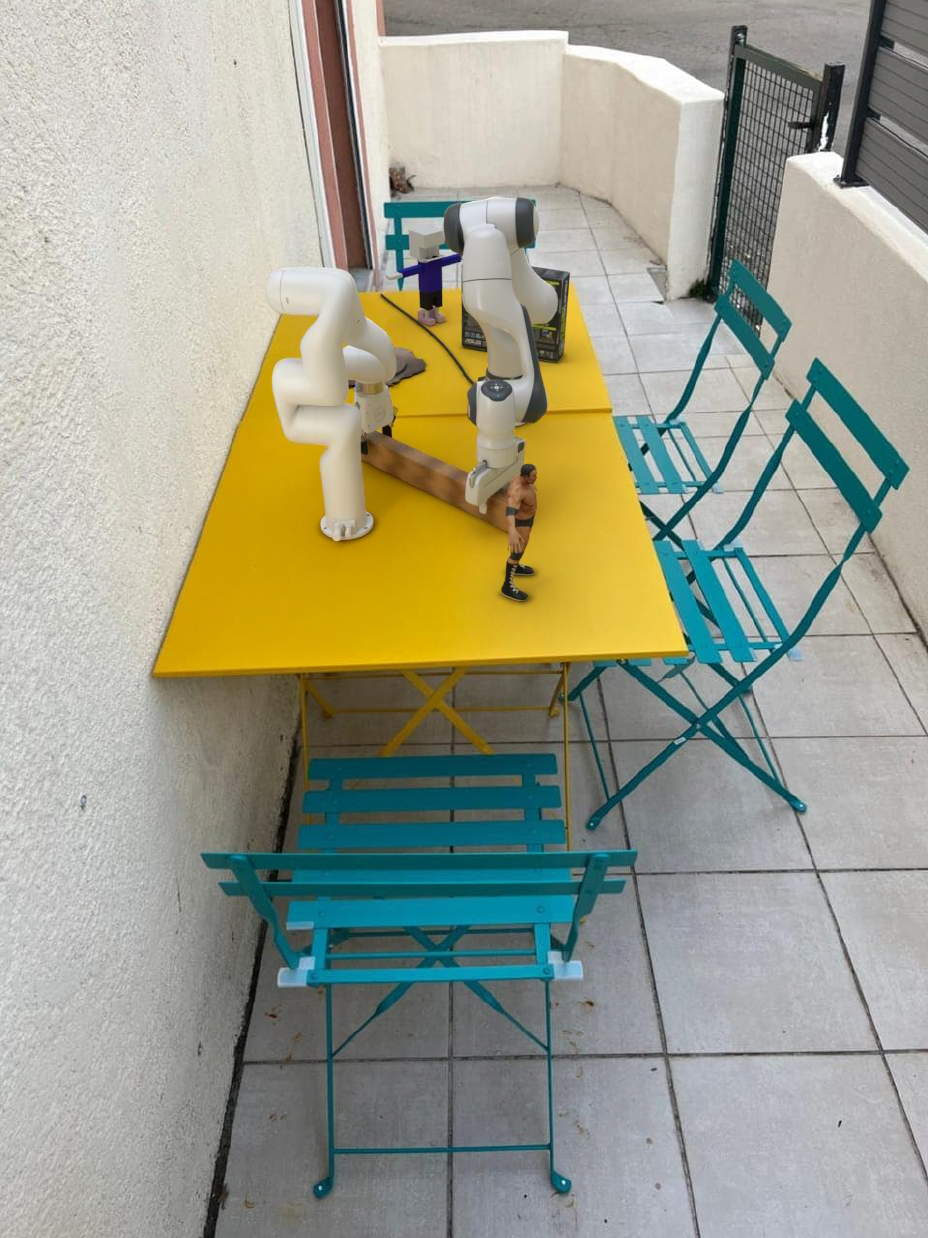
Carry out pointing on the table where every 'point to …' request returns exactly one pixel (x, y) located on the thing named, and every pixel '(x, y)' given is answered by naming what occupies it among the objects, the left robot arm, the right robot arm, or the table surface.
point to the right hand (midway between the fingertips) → (494, 503)
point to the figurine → (519, 526)
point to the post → (430, 476)
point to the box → (545, 335)
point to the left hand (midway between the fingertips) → (375, 446)
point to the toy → (427, 270)
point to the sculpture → (403, 365)
